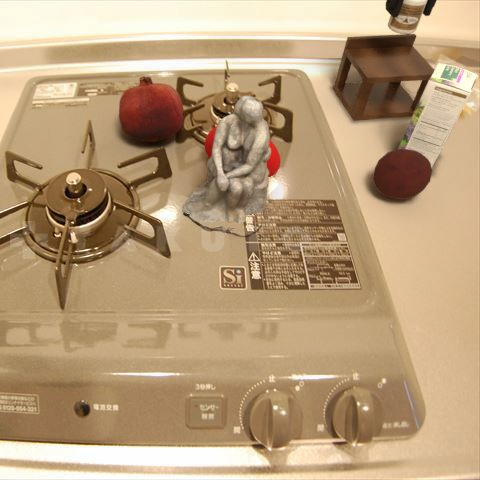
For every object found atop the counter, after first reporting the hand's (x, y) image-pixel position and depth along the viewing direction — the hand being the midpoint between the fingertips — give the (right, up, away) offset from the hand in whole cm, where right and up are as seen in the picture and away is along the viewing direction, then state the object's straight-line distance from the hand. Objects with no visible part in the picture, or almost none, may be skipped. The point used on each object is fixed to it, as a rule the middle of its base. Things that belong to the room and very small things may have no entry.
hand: (407, 11), depth 85 cm
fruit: (-39, -20, +2) cm, 44 cm away
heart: (-27, -20, -10) cm, 35 cm away
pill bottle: (0, -2, +2) cm, 3 cm away
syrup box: (+2, -23, +1) cm, 23 cm away
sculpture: (-35, -26, -16) cm, 46 cm away
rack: (0, -11, +12) cm, 16 cm away
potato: (-4, -29, -4) cm, 29 cm away
